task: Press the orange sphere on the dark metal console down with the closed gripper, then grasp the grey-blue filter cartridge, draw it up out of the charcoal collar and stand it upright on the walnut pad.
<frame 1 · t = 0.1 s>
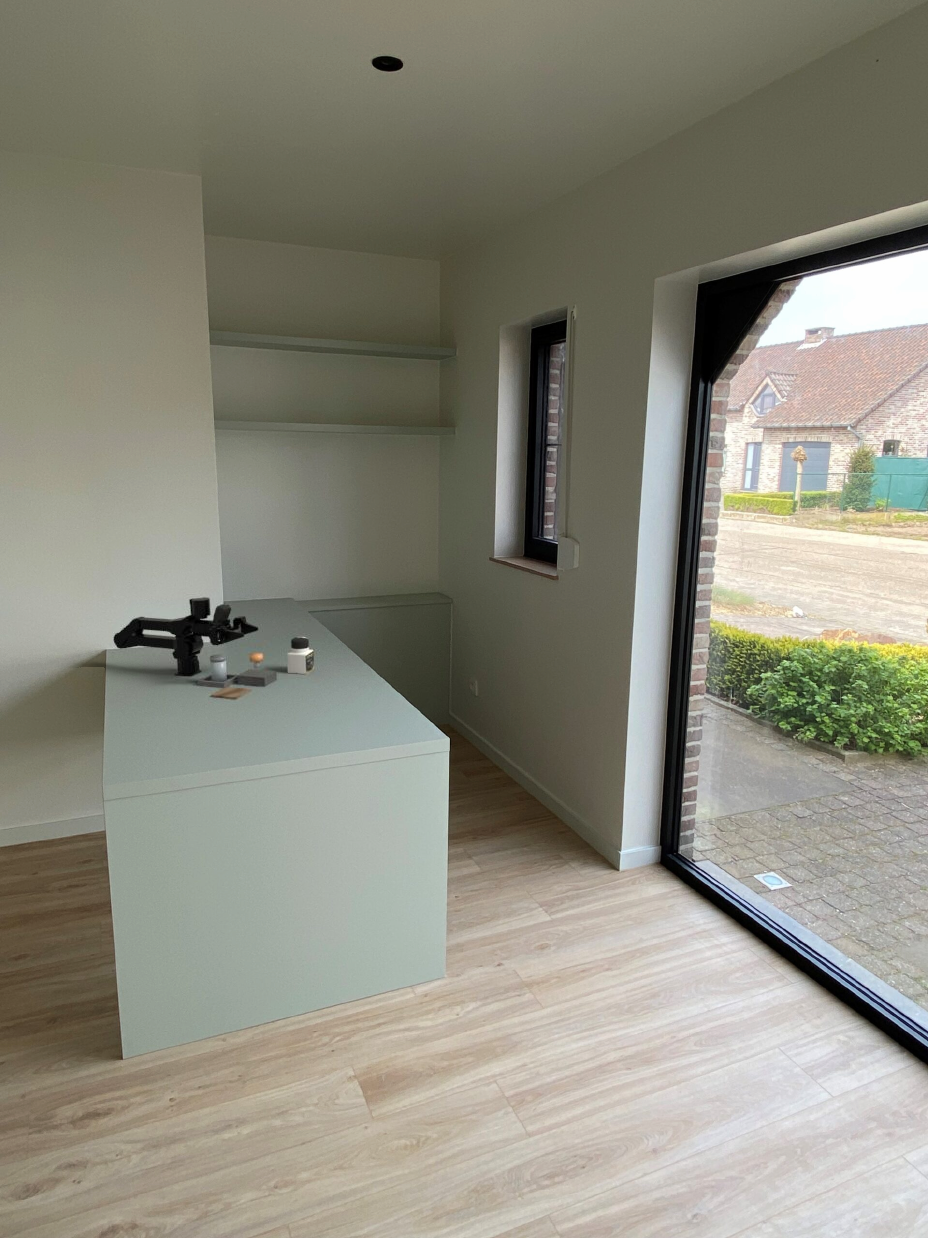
hand: (251, 632, 268), 17 cm above the table, tool horizontal, fingers open, 9 cm apart
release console: (257, 681, 269), on the table
collar: (219, 682, 268), on the table
medicine bottle: (301, 671, 282), on the table
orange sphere: (256, 660, 267), point 7 cm above the table, slide at 0.0 cm
walnut pad: (231, 693, 256), on the table
filter cartridge: (218, 669, 267), in the collar
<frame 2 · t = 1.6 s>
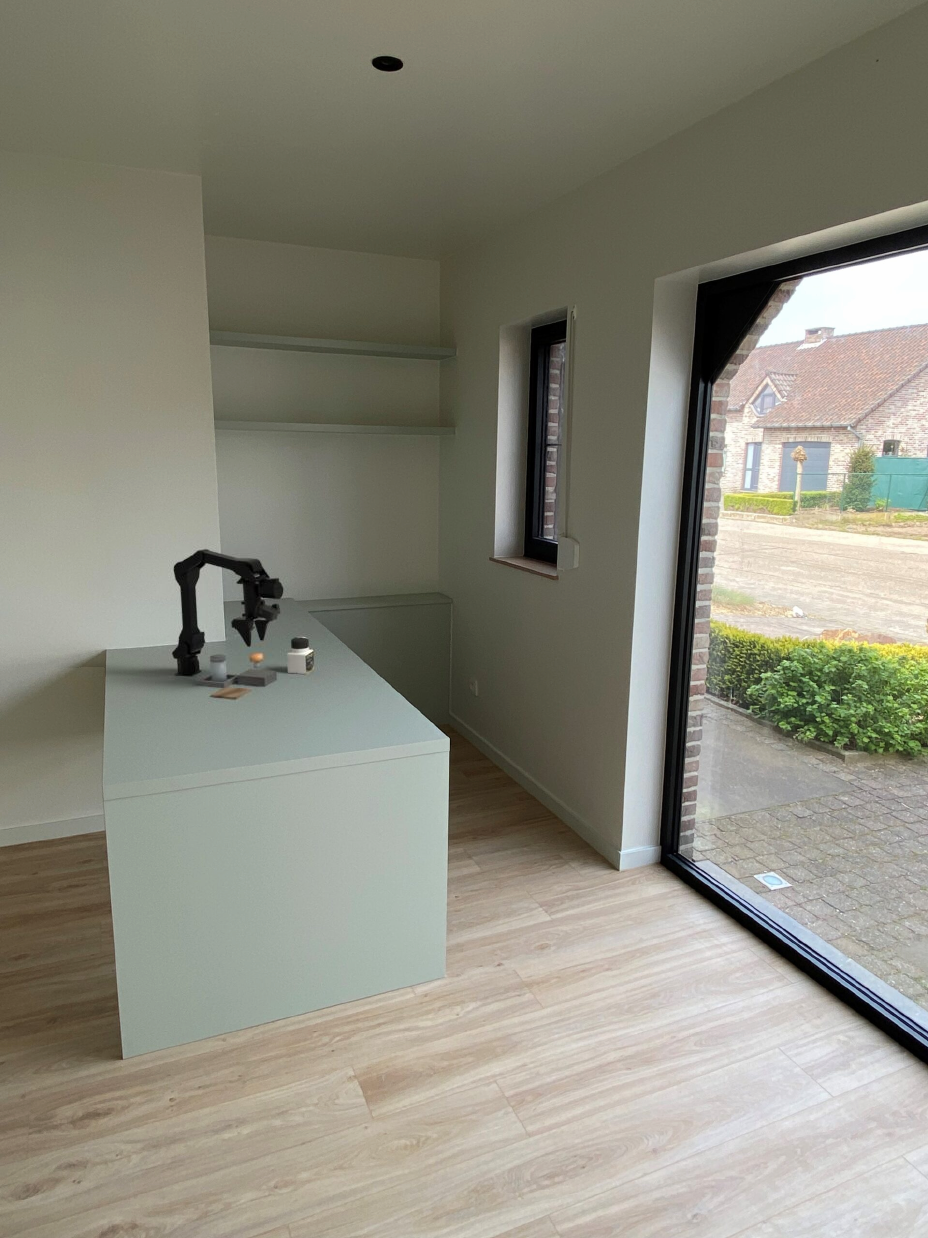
hand: (255, 643, 266), 13 cm above the table, tool pointing down, fingers open, 8 cm apart
nothing on the table moved.
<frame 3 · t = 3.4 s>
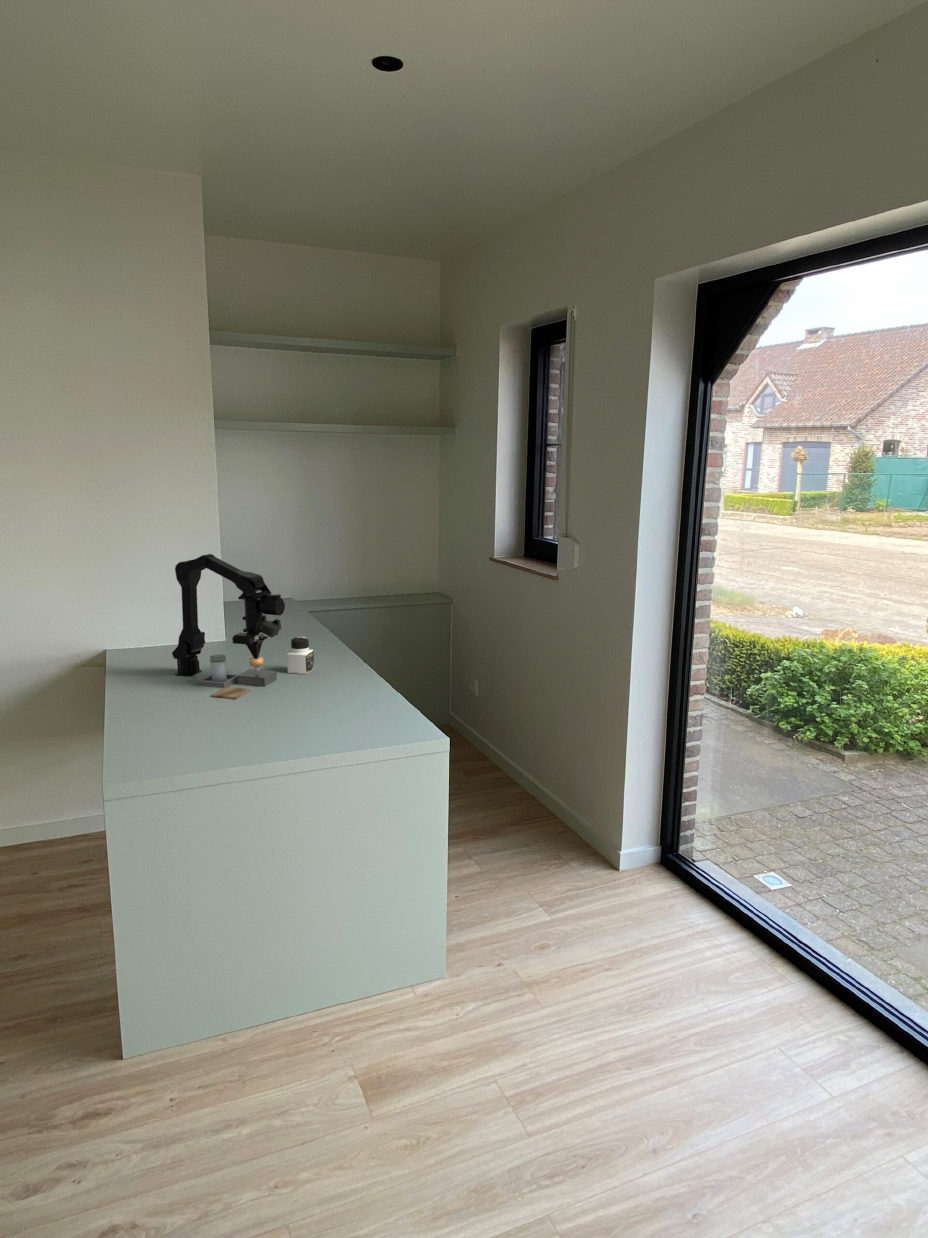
hand: (256, 658, 267), 8 cm above the table, tool pointing down, fingers closed, pressing on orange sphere
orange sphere: (256, 664, 267), point 6 cm above the table, slide at 1.4 cm, touching gripper
everything else where it was.
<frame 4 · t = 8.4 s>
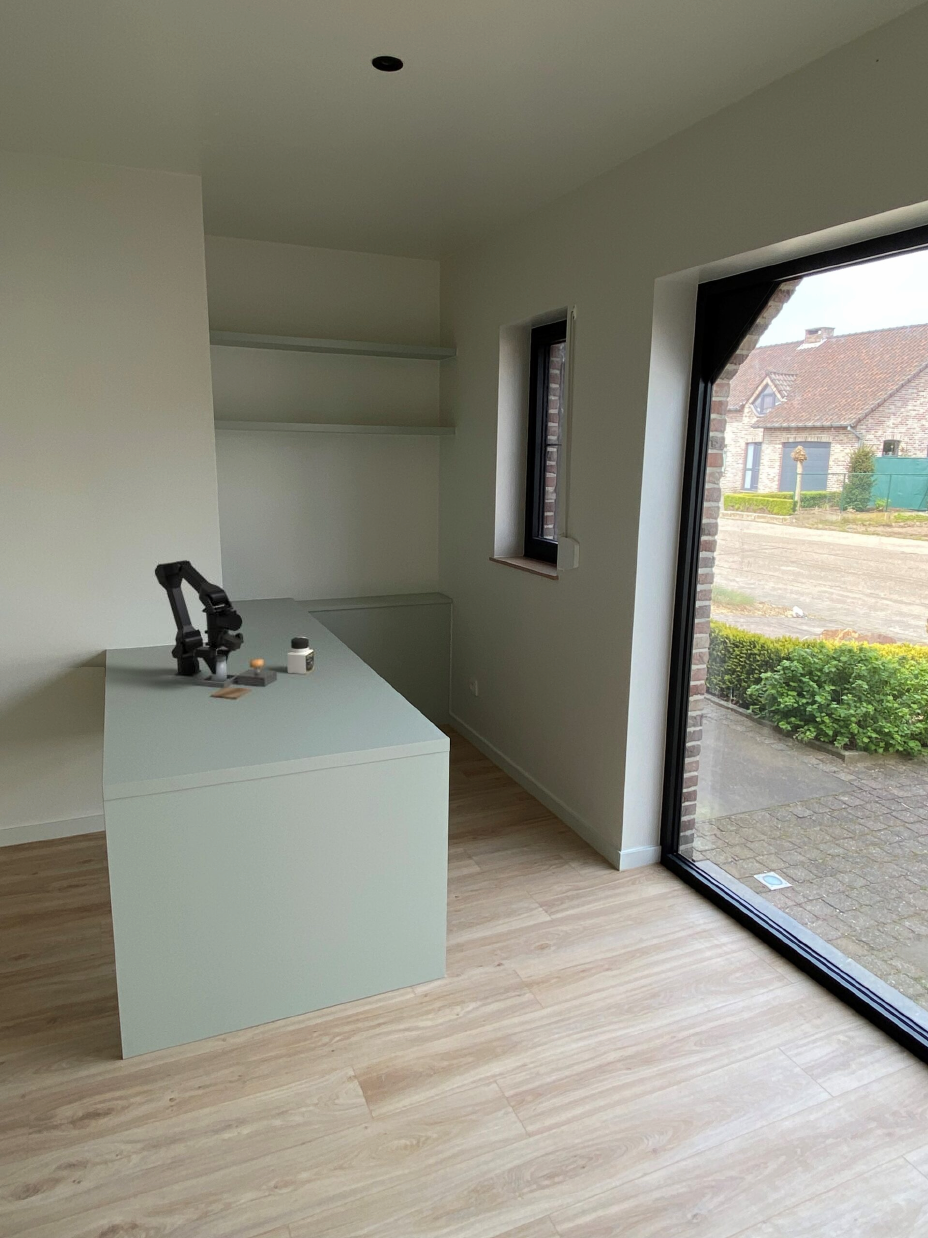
hand: (218, 672, 267), 4 cm above the table, tool pointing down, fingers closed on filter cartridge, 5 cm apart
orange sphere: (256, 666, 267), point 5 cm above the table, slide at 2.1 cm
filter cartridge: (218, 669, 267), in the collar, touching gripper
everything else where it was.
when the fingers open (5 cm above the table, at t = 13.6 s): filter cartridge drops 1 cm, resting on walnut pad.
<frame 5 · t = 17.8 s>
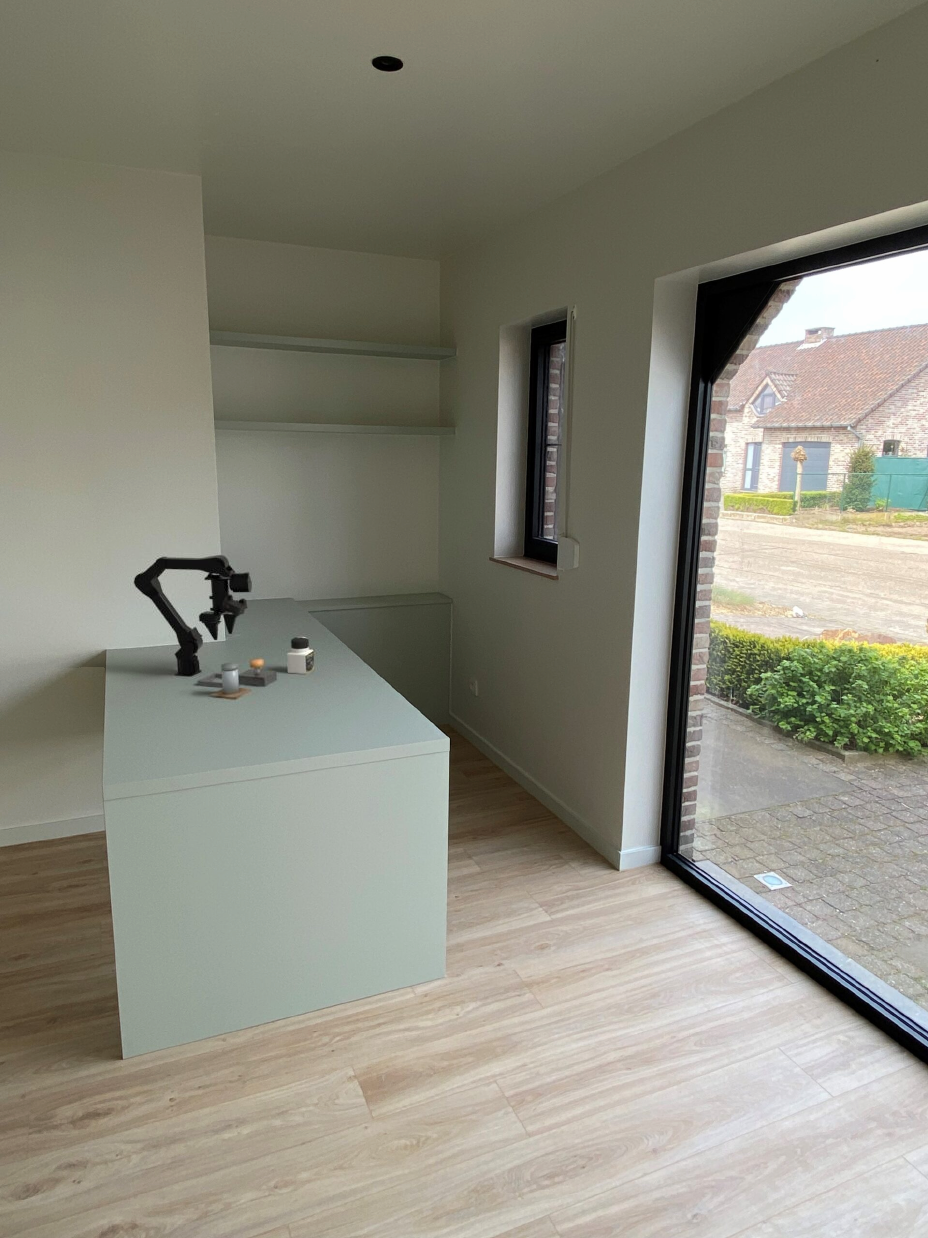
hand: (223, 636, 276), 13 cm above the table, tool pointing down, fingers open, 9 cm apart
filter cartridge: (230, 678, 255), on the walnut pad, point 5 cm above the table
everything else where it was.
at the end: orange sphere slide at 2.1 cm; filter cartridge 0.0 cm off-centre on the walnut pad, point 5.1 cm above the walnut pad's base; filter cartridge tilted 0° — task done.
